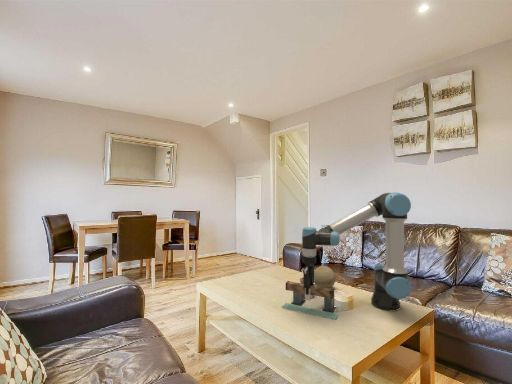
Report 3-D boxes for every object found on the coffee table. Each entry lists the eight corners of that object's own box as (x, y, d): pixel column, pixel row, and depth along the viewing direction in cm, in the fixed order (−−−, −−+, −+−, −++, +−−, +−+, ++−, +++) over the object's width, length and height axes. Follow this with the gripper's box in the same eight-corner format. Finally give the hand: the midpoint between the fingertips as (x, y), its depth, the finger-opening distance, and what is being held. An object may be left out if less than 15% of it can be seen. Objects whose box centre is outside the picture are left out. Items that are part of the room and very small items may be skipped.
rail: (333, 296, 139) (333, 289, 139) (332, 299, 136) (332, 291, 136) (287, 288, 152) (287, 281, 152) (285, 289, 149) (285, 282, 149)
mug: (305, 300, 159) (305, 282, 159) (296, 295, 167) (296, 278, 167) (321, 296, 164) (321, 279, 165) (311, 292, 173) (311, 275, 173)
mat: (338, 315, 139) (338, 314, 139) (336, 319, 134) (336, 318, 134) (285, 303, 154) (285, 302, 154) (281, 307, 149) (281, 306, 149)
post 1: (305, 301, 158) (305, 284, 158) (300, 306, 150) (300, 288, 150) (296, 299, 161) (296, 282, 161) (290, 304, 153) (290, 287, 153)
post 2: (336, 307, 149) (336, 289, 149) (332, 313, 141) (332, 294, 141) (326, 305, 152) (325, 287, 152) (321, 311, 144) (321, 292, 144)
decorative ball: (340, 290, 175) (340, 268, 175) (321, 293, 169) (321, 270, 169) (326, 283, 189) (326, 262, 189) (308, 286, 183) (308, 264, 183)
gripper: (307, 252, 153) (307, 292, 153) (297, 257, 139) (297, 302, 139) (320, 253, 150) (319, 295, 149) (311, 259, 135) (310, 305, 135)
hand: (308, 298), depth 144 cm, fingers closed on rail, 3 cm apart
